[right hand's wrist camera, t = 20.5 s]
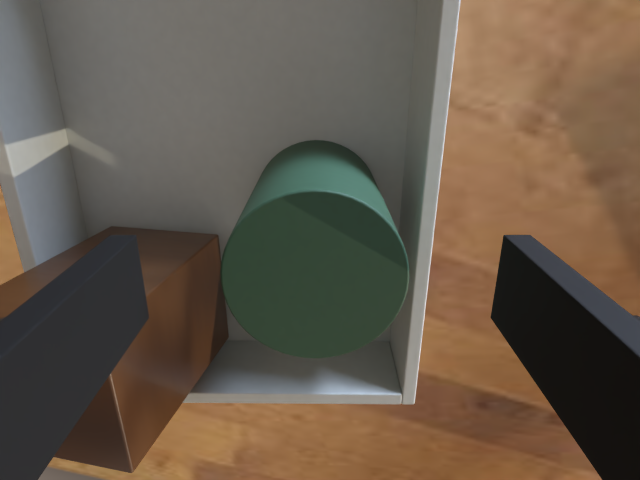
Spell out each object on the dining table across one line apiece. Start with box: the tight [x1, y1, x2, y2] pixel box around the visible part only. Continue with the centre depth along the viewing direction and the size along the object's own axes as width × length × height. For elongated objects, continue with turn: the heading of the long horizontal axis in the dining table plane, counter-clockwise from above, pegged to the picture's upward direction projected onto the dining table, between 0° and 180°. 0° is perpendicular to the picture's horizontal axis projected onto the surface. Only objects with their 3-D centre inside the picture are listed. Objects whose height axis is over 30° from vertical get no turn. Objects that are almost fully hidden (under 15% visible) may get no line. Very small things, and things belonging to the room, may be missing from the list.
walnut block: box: [0, 226, 229, 473], centre depth 18 cm, size 6×6×8 cm
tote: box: [0, 0, 460, 404], centre depth 14 cm, size 26×16×12 cm, turn 0°
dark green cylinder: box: [220, 140, 409, 358], centre depth 17 cm, size 6×6×8 cm
